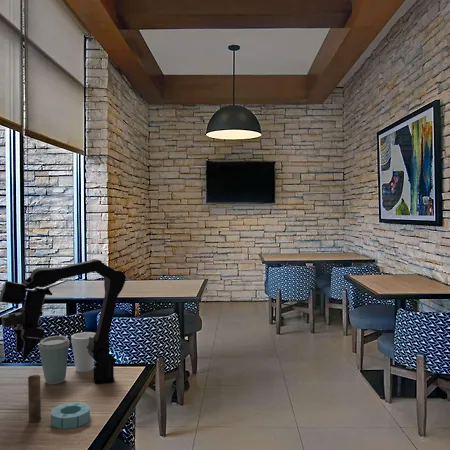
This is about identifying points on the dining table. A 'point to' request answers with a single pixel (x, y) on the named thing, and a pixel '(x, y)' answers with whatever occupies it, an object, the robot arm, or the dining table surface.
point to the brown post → (34, 398)
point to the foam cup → (82, 351)
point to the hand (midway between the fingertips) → (21, 355)
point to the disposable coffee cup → (54, 358)
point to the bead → (70, 415)
